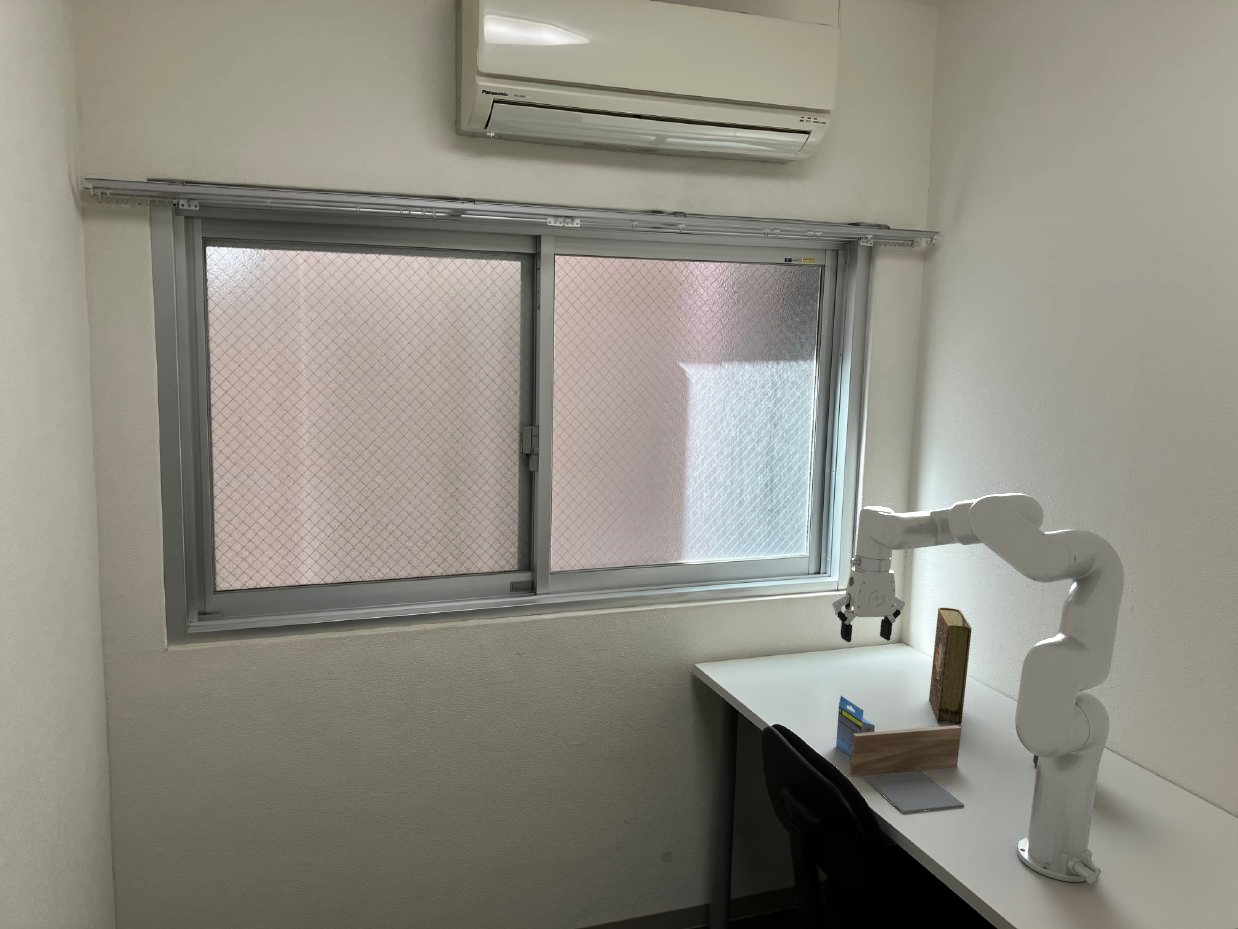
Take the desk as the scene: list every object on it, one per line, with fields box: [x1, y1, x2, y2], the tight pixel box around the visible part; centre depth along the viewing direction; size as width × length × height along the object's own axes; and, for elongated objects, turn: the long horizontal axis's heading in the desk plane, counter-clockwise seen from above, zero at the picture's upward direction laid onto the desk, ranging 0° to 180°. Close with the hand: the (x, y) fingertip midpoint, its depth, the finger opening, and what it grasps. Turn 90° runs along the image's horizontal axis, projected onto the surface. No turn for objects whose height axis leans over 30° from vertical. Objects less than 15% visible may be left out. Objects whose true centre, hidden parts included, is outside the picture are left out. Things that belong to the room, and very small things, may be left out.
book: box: [928, 607, 973, 726], centre depth 220 cm, size 16×6×25 cm, turn 168°
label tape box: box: [835, 695, 876, 757], centre depth 195 cm, size 9×4×12 cm, turn 22°
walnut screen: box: [848, 724, 962, 777], centre depth 188 cm, size 1×26×9 cm, turn 106°
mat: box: [863, 770, 965, 814], centre depth 179 cm, size 14×14×1 cm
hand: (865, 639), depth 192 cm, fingers open, 9 cm apart
